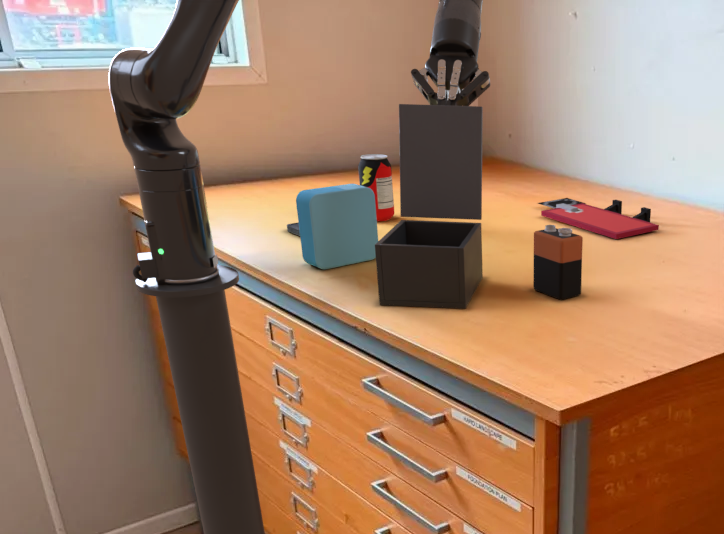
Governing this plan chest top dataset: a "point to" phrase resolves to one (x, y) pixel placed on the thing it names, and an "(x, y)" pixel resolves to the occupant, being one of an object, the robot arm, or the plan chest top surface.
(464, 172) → the lid
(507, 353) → the plan chest top surface
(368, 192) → the data package
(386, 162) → the beverage can
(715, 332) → the plan chest top surface
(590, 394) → the plan chest top surface
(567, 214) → the red board with handle
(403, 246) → the chest
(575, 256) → the battery
